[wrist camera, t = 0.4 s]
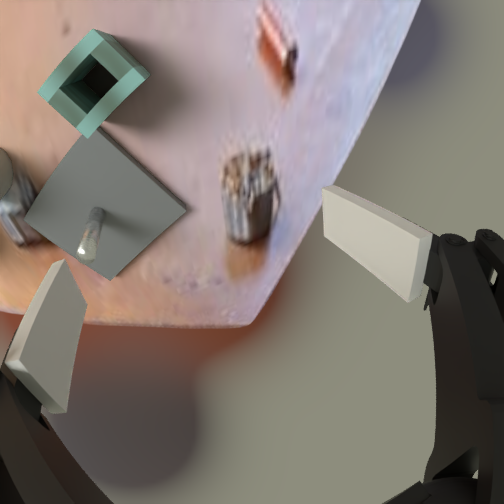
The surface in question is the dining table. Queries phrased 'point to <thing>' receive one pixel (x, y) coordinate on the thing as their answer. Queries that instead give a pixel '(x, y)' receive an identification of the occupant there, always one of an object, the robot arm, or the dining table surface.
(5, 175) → the cup
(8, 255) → the dining table surface
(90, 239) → the rod
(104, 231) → the board
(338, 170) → the dining table surface
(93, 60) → the bead
